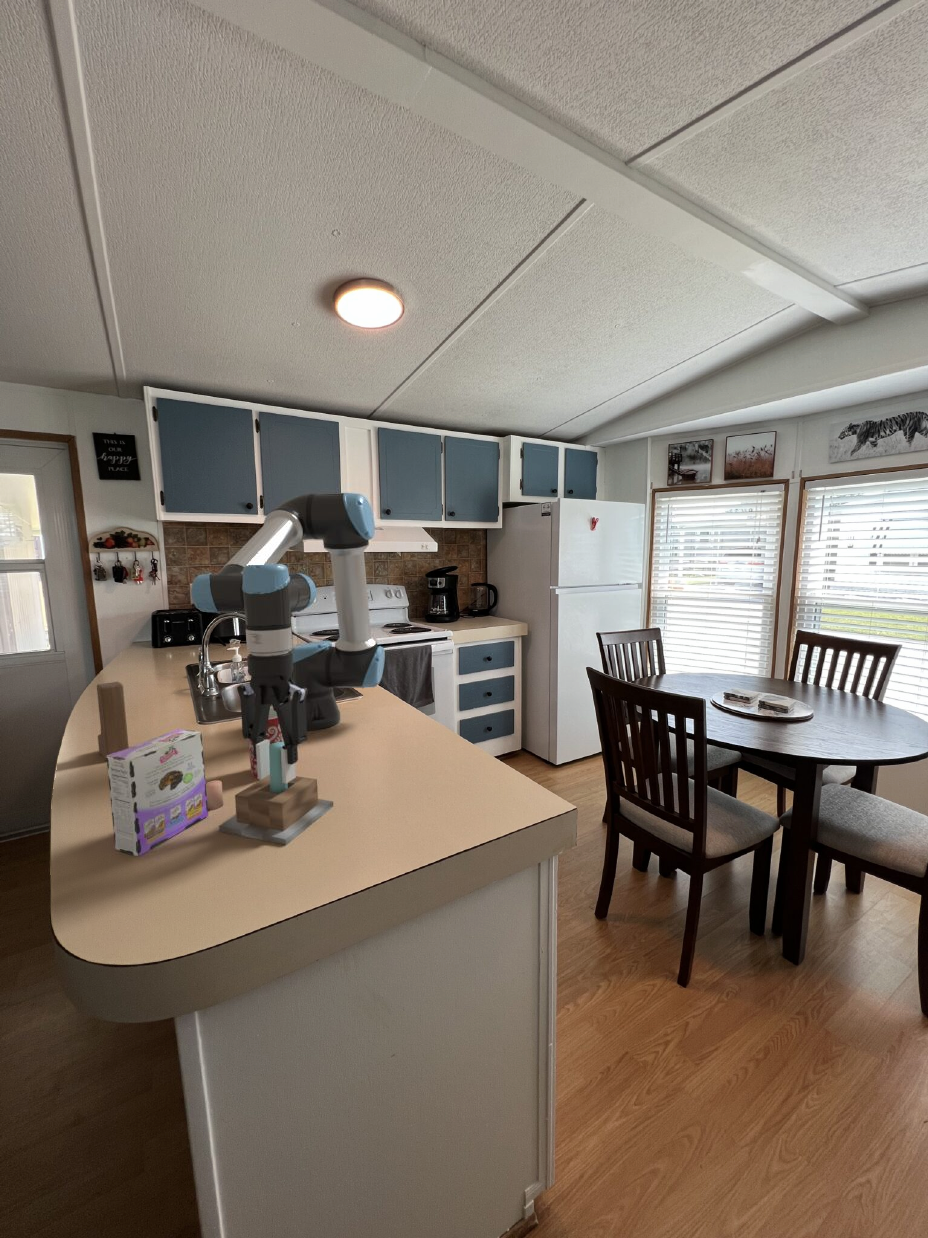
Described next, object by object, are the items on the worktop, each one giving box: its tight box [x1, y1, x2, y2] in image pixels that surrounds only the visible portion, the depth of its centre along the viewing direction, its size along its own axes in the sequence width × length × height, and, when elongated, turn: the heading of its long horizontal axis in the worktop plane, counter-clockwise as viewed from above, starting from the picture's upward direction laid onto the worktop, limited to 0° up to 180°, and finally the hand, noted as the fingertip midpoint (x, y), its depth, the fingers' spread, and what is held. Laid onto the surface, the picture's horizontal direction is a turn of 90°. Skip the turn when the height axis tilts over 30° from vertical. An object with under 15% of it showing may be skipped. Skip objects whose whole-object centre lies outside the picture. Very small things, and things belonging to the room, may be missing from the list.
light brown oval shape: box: [205, 780, 224, 811], centre depth 98 cm, size 3×3×4 cm
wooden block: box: [96, 681, 129, 761], centre depth 124 cm, size 9×4×18 cm, turn 46°
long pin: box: [269, 742, 288, 794], centre depth 93 cm, size 3×3×14 cm
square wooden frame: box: [218, 775, 334, 846], centre depth 93 cm, size 14×14×6 cm
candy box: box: [106, 728, 209, 857], centre depth 88 cm, size 14×6×16 cm, turn 159°
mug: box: [246, 706, 284, 778], centre depth 115 cm, size 13×9×14 cm
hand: (276, 778), depth 93 cm, fingers open, 5 cm apart
